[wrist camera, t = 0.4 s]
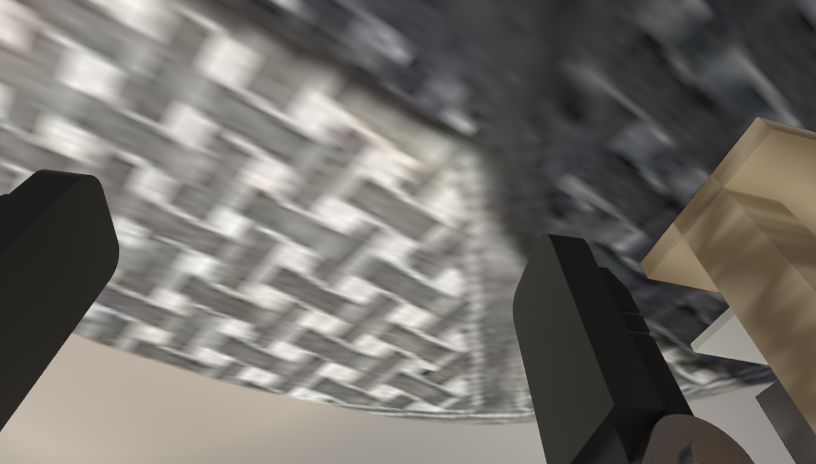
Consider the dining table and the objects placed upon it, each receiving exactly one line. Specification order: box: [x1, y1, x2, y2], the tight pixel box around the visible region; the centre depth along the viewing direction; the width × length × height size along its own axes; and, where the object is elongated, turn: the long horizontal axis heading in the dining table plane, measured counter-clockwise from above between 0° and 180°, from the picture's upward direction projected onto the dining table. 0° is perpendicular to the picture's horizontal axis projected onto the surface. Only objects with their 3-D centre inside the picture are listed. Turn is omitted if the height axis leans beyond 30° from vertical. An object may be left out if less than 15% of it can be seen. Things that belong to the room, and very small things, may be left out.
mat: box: [690, 307, 769, 365], centre depth 38 cm, size 9×9×1 cm
